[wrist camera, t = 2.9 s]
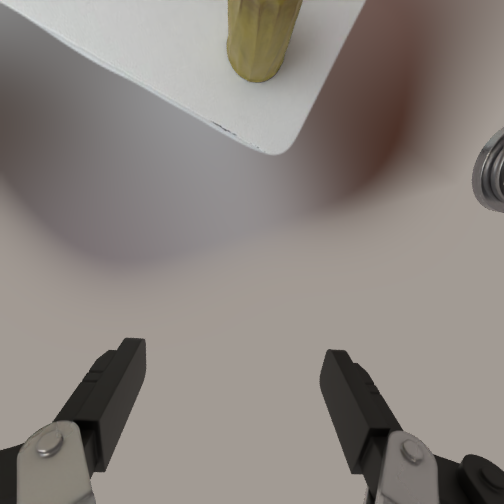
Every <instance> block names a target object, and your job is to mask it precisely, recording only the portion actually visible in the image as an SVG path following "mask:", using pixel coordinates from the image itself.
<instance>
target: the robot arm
mask: <svg viewBox="0 0 504 504" xmlns="http://www.w3.org/2000/svg"><path fill="white" fill-rule="evenodd" d="M491 187H492V190H493V192H494V194H495V196H496V197H497V198H498V199H499V200H501V201H503V202H504V148H503V149H502V150H501V152H500V153H499V155H498V156H497V158H496V160H495V163H494V165H493V168H492V172H491ZM145 373H146V343H145V339H141V338H140V339H139V338H125V339H124V340H123V342H122V343H121V345H120V346H119V348H118V349H117V350H108V351H107V352H106V353H104V354H103V355H102V356H101V357H99V358H98V359H97V360H96V361H95V363H94V364H93V366H92V367H91V368H90V370H89V373H87V374H86V376H85V377H84V379H83V380H82V382H81V383H80V384H79V385H78V387H77V388H76V390H75V391H74V392H73V394H72V395H71V397H70V398H69V400H68V401H67V402H66V404H65V405H64V407H63V408H62V410H61V411H60V412H59V414H58V415H57V417H56V418H55V419H54V421H53V422H52V423H51V424H49V425H46V426H45V427H43V428H41V429H39V430H38V431H37V432H35V433H34V434H33V435H32V436H30V437H29V438H28V439H27V441H26V442H25V443H23V444H20V445H17V446H14V447H11V448H7V449H3V450H0V504H96V501H95V497H94V494H93V492H92V487H91V482H90V479H91V477H92V475H93V472H105V471H106V469H107V466H108V464H109V461H110V459H111V457H112V454H113V452H114V450H115V447H116V445H117V443H118V440H119V438H120V436H121V433H122V431H123V429H124V426H125V424H126V421H127V419H128V417H129V414H130V412H131V410H132V407H133V405H134V403H135V400H136V398H137V395H138V393H139V391H140V389H141V386H142V384H143V381H144V378H145ZM320 388H321V392H322V394H323V397H324V400H325V403H326V405H327V408H328V411H329V414H330V416H331V419H332V422H333V425H334V427H335V430H336V433H337V436H338V438H339V441H340V444H341V446H342V449H343V452H344V455H345V457H346V460H347V463H348V465H349V468H350V471H351V474H363V475H364V478H365V480H366V483H367V485H368V486H367V489H366V493H365V498H364V503H363V504H504V471H502V470H501V469H500V468H499V467H498V466H496V465H495V464H493V463H492V462H490V461H489V460H487V459H485V458H483V457H480V456H477V455H472V454H469V455H466V456H465V457H464V458H463V460H462V462H461V463H460V464H459V463H456V462H454V461H451V460H448V459H445V458H442V457H439V456H436V455H434V454H432V452H431V451H430V450H429V448H428V447H427V446H426V445H425V444H424V443H423V442H422V441H421V440H419V439H418V438H417V437H415V436H413V435H411V434H410V433H407V432H404V431H403V429H402V428H401V426H400V424H399V423H398V421H397V420H396V418H395V416H394V415H393V413H392V411H391V410H390V408H389V407H388V405H387V403H386V402H385V400H384V398H383V397H382V395H380V392H379V390H378V389H377V387H376V386H375V385H374V382H373V381H372V379H371V377H370V376H369V374H368V373H367V372H366V371H365V370H364V369H363V368H362V367H361V366H360V365H359V364H358V363H353V362H352V360H351V358H350V357H349V355H348V353H347V352H346V351H345V350H331V349H329V350H327V352H326V355H325V359H324V362H323V366H322V370H321V374H320Z"/></svg>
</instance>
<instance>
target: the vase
mask: <svg viewBox="0 0 504 504" xmlns="http://www.w3.org/2000/svg"><path fill="white" fill-rule="evenodd" d="M302 2H303V0H228V39H227V54H228V58H229V61H230V63H231V65H232V67H233V69H234V70H235V72H236V73H237V74H238V75H240V76H241V77H242V78H244V79H246V80H247V81H250V82H263V81H266V80H268V79H270V78H271V77H273V76H274V75H275V74H276V73H277V71H278V70H279V68H280V66H281V64H282V63H283V60H284V56H285V52H286V50H287V47H288V44H289V41H290V38H291V35H292V31H293V28H294V25H295V22H296V19H297V16H298V13H299V10H300V8H301V5H302Z"/></svg>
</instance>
